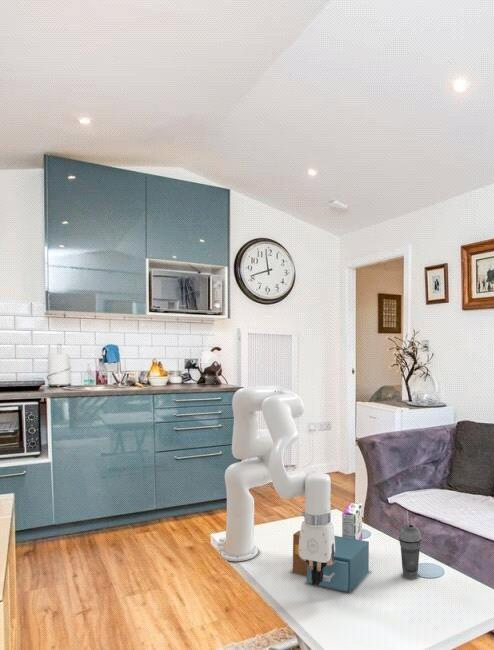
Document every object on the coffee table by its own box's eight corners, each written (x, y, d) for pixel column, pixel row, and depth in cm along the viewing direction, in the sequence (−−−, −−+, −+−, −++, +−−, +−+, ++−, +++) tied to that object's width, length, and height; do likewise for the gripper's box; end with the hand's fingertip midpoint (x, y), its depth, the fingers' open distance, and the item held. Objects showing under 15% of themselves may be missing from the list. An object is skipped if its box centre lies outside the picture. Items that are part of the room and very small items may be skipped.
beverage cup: (415, 583, 151) (415, 516, 152) (394, 577, 155) (394, 512, 156) (425, 574, 157) (425, 510, 159) (405, 568, 161) (405, 506, 162)
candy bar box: (348, 549, 176) (349, 502, 177) (362, 550, 175) (362, 503, 176) (341, 562, 165) (341, 512, 166) (355, 564, 164) (356, 513, 165)
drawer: (340, 598, 140) (340, 570, 141) (299, 589, 145) (299, 562, 146) (364, 571, 157) (364, 546, 157) (326, 564, 162) (327, 540, 162)
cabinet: (350, 592, 145) (350, 559, 146) (307, 583, 150) (307, 551, 151) (368, 572, 158) (368, 541, 159) (328, 564, 164) (328, 534, 165)
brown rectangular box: (308, 576, 155) (309, 537, 156) (292, 572, 158) (293, 534, 158) (314, 571, 159) (314, 533, 160) (298, 568, 161) (298, 530, 162)
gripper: (288, 518, 142) (288, 583, 141) (334, 525, 136) (334, 594, 135) (302, 510, 149) (301, 573, 148) (346, 517, 143) (346, 582, 142)
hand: (317, 582), depth 141 cm, fingers closed
